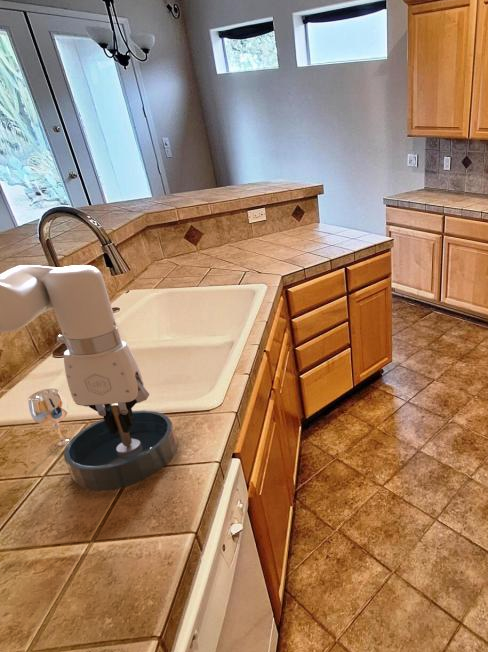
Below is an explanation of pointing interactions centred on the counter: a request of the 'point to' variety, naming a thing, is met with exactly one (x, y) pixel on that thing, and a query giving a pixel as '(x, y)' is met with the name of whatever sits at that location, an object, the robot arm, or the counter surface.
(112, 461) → the bowl
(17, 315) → the robot arm
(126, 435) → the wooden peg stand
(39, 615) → the counter surface
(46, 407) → the wineglass
